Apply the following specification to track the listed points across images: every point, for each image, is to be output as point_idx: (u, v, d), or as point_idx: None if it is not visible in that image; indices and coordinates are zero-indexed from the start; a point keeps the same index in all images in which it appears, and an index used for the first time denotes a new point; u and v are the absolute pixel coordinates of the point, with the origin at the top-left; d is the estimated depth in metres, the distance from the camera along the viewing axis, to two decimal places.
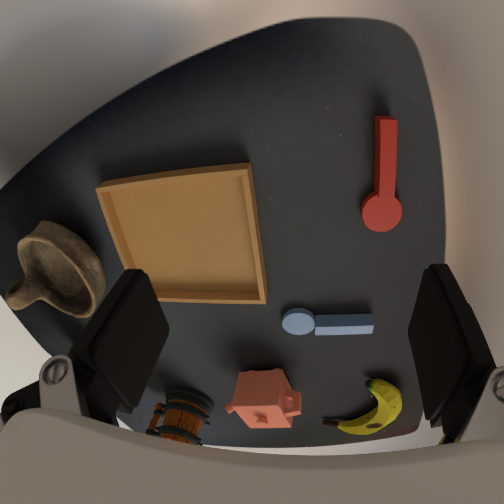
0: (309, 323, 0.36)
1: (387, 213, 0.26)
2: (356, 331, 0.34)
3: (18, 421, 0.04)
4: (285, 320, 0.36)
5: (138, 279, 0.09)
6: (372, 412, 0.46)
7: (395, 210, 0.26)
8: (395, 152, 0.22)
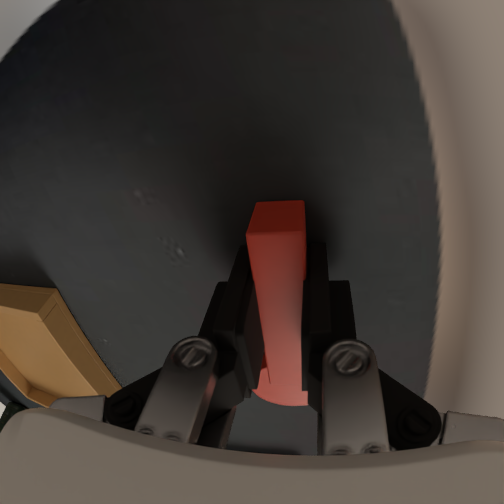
0: None
1: (301, 387, 0.13)
2: None
3: (18, 421, 0.04)
4: None
5: None
6: None
7: None
8: (301, 313, 0.09)
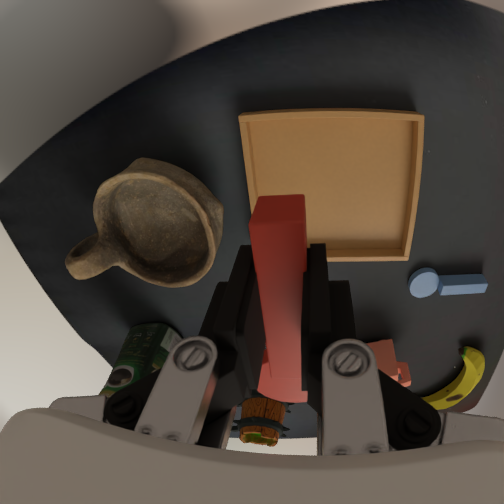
0: (434, 283, 0.32)
1: None
2: (473, 290, 0.30)
3: (18, 421, 0.04)
4: (414, 281, 0.32)
5: None
6: (451, 385, 0.43)
7: None
8: None
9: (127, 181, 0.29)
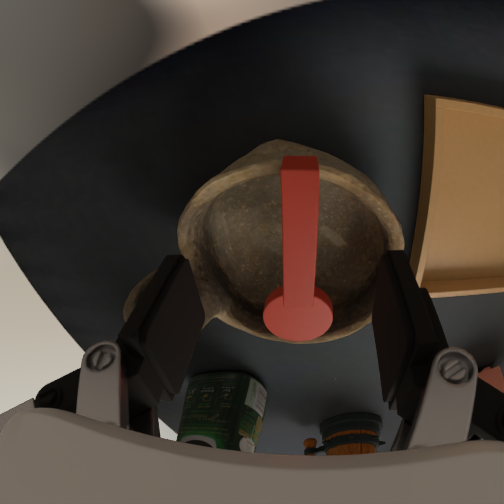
0: None
1: (306, 319, 0.17)
2: None
3: (18, 421, 0.04)
4: None
5: (181, 264, 0.10)
6: None
7: (320, 316, 0.17)
8: (314, 234, 0.13)
9: None
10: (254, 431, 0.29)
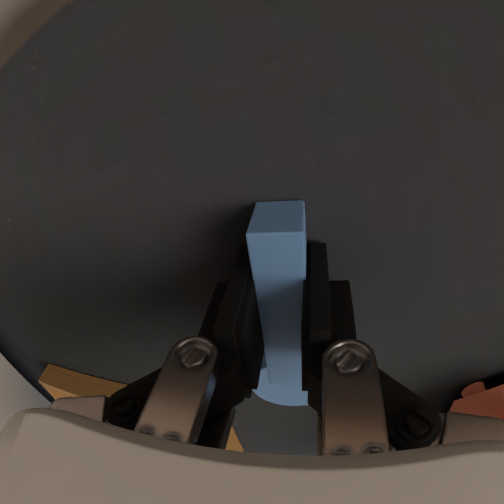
0: None
1: None
2: (286, 295, 0.09)
3: (18, 421, 0.04)
4: (278, 402, 0.14)
5: None
6: None
7: None
8: None
9: None
10: None
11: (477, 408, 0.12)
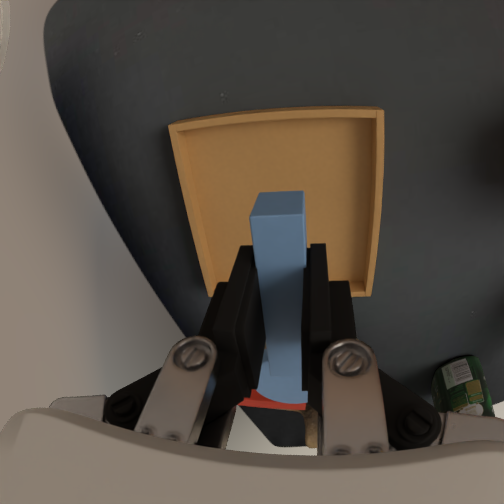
0: None
1: None
2: (286, 279, 0.09)
3: (18, 421, 0.04)
4: (278, 399, 0.14)
5: None
6: None
7: None
8: (262, 401, 0.27)
9: None
10: (469, 396, 0.27)
11: None
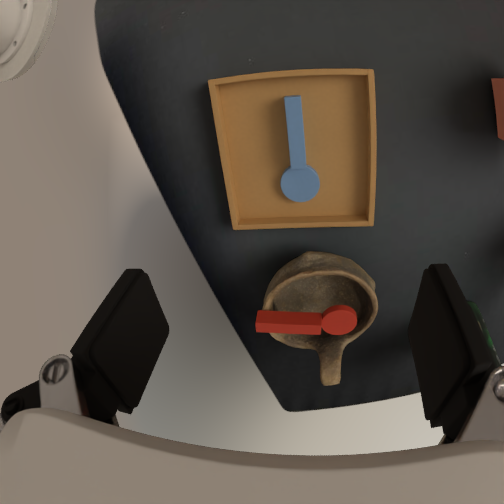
0: (297, 172, 0.30)
1: (339, 320, 0.32)
2: (296, 118, 0.26)
3: (18, 421, 0.04)
4: (294, 198, 0.31)
5: (138, 279, 0.09)
6: None
7: (337, 315, 0.31)
8: (281, 325, 0.32)
9: None
10: None
11: None
